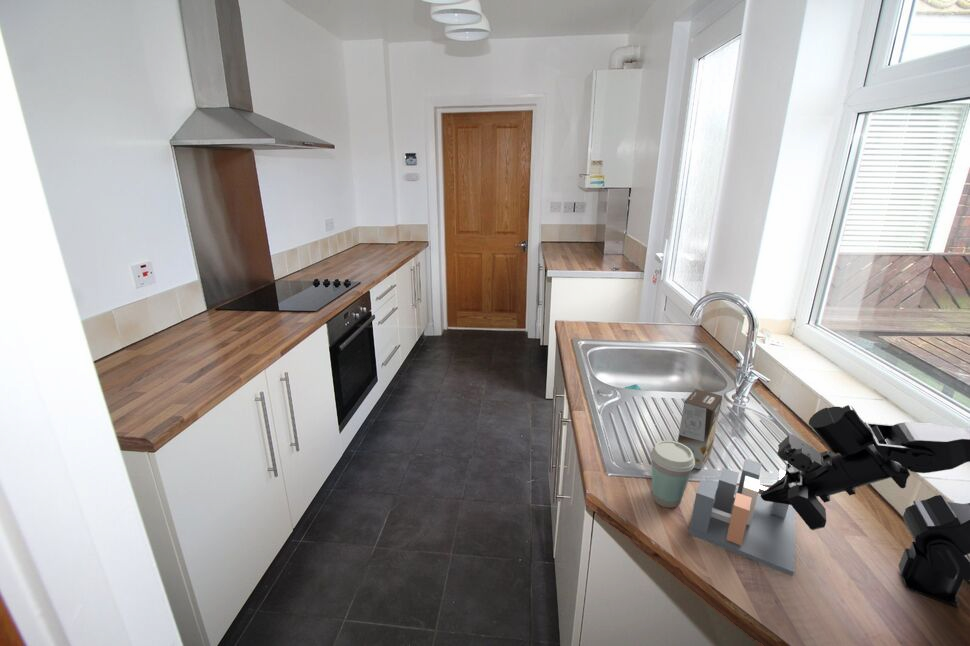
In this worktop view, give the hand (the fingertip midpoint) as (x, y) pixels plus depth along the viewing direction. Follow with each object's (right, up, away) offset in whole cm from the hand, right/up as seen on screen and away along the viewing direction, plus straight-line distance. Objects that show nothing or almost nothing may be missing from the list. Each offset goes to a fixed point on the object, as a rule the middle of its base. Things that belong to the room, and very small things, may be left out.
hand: (762, 497), depth 86 cm
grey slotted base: (-2, -6, +3) cm, 7 cm away
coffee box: (-2, +1, +24) cm, 24 cm away
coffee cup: (-15, -4, +10) cm, 18 cm away
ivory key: (-4, -5, +4) cm, 7 cm away
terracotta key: (-8, -6, 0) cm, 10 cm away
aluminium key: (+4, -4, +6) cm, 8 cm away
